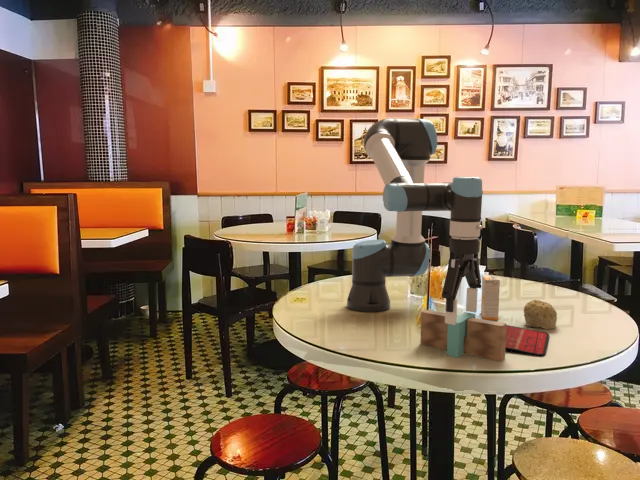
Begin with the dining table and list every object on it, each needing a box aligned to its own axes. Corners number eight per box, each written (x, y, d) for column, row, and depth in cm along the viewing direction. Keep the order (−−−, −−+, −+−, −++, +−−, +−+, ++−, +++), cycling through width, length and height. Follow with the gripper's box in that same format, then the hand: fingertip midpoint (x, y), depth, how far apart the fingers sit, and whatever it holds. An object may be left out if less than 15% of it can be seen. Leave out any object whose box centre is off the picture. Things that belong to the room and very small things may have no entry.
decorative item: (555, 337, 158) (554, 307, 163) (559, 325, 150) (558, 294, 155) (522, 335, 161) (522, 305, 166) (524, 323, 153) (524, 293, 158)
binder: (480, 341, 137) (492, 321, 156) (480, 350, 137) (491, 329, 156) (546, 353, 130) (550, 331, 149) (545, 362, 130) (549, 338, 149)
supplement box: (498, 320, 164) (500, 280, 162) (483, 319, 164) (484, 279, 163) (495, 313, 172) (497, 275, 170) (480, 312, 173) (481, 274, 171)
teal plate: (458, 357, 130) (459, 323, 129) (446, 355, 132) (447, 321, 131) (474, 346, 139) (475, 313, 138) (463, 344, 141) (464, 312, 139)
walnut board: (420, 343, 141) (421, 311, 140) (425, 341, 143) (426, 309, 142) (501, 361, 127) (502, 326, 126) (505, 358, 130) (506, 323, 129)
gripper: (459, 244, 120) (455, 332, 123) (496, 233, 139) (492, 309, 142) (429, 241, 124) (426, 326, 127) (469, 231, 144) (466, 304, 147)
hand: (461, 317), depth 135 cm, fingers open, 13 cm apart
